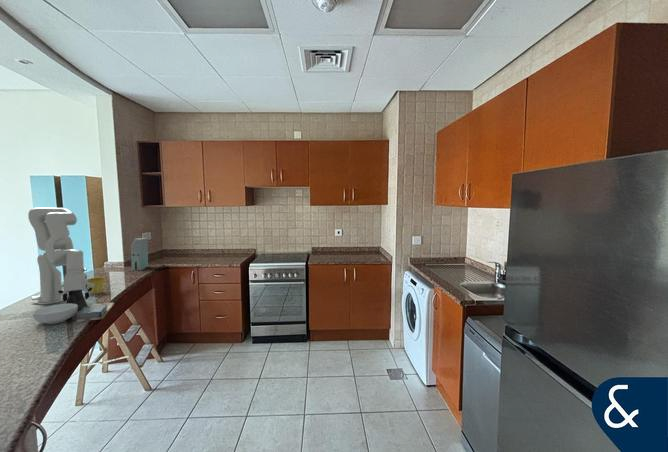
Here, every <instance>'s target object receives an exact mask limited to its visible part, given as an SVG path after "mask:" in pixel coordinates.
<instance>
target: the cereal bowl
mask: <svg viewBox="0 0 668 452" xmlns="http://www.w3.org/2000/svg"><path fill="white" fill-rule="evenodd" d="M77 310H78V305H77V304H66V303H59V304H54V305H48V306H44V307H40V308H38V309H36V310H34V311H33V312H32V317H33V319H34V321H36V322H37V323H42V324H46V325H54V324H55V325H56V324H61V323H63V322H66V321H67V320H69V319H71V318H73V317H74V316H75V315H77V312H78V311H77Z"/></svg>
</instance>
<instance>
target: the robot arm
mask: <svg viewBox="0 0 668 452" xmlns="http://www.w3.org/2000/svg"><path fill="white" fill-rule="evenodd" d="M27 214H28V220H29V223H30V225H31V226H32V229H33V230H34V233H35V234H34V235H35V238H36V242H37V247H38V250H41V251H44V253H41V254H39V255H38V256H37V259H36V260H37V266H38V268H39V281H40V282H39V283H40V286H39V287H40V294H39V295H38V296H36V295H35V296H31V300H32V301H37V302H36V304H37V305H41V306H42V305H51V304H57V303H61V302H64V303H66V302H67V299H68V292H69V291H78V290H82V291H84V292H85V293H84V299H85V300H88V299H89V298H90V292H89V291H90V290H92V289H93V287H94V285H95V284H92V283H89V282H88V281H87V279H88V276H87V270H88V269H87V268H85V267H84V266H85V265H84V263H85V262H84V252H83V251H82V250H78V249H76V248H74V244H73V240H72V238H71V236H70V231H69V227H68V226H74V225H77V221H78V218H77V215H76V213H74V212H72V211H71V210H69V209H67V208H64V207H34V208H32V209H30V210H29V211H28V213H27ZM63 266H64V267H65V266H66V267H65V268H66V273H65V275H64V280H63V283H62V273H61V271H60V270H59V269H58V267H63ZM88 285H90V286H91V287H90V288H89V289H88ZM62 288H63V289H62Z"/></svg>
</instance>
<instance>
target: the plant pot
mask: <svg viewBox="0 0 668 452" xmlns="http://www.w3.org/2000/svg"><path fill="white" fill-rule="evenodd" d="M87 281H88V282H89V283H92V284H95V285H94V287H93V289H92V290H90V291H89V295H90V294H91V295H95V294H96V295H97V294H101V293H103V289H104V285H105V283H106V278H105V277H92V278H87ZM90 287H91V286H90V285H88V287H87V288H88V289H89V288H90Z"/></svg>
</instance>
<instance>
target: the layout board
mask: <svg viewBox="0 0 668 452" xmlns="http://www.w3.org/2000/svg"><path fill="white" fill-rule="evenodd" d="M97 305H107V310H106V312H105V313H104V314H103V315H102V316H101V317H96V318H87V319H79V320H77V319H76V323H79V322H89V321H96V320H103V319H105V317H106V315H107V314H108V313H109V311H111V309H112V308H113V307H114V305H115V302H106V303H105V302H104V303H96V304H95V303H93V304H91V305H90V306H97Z"/></svg>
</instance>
